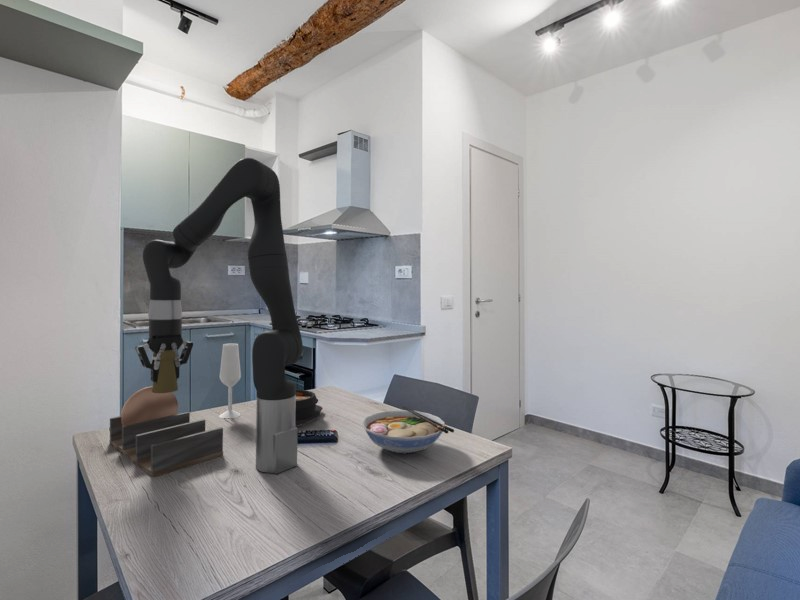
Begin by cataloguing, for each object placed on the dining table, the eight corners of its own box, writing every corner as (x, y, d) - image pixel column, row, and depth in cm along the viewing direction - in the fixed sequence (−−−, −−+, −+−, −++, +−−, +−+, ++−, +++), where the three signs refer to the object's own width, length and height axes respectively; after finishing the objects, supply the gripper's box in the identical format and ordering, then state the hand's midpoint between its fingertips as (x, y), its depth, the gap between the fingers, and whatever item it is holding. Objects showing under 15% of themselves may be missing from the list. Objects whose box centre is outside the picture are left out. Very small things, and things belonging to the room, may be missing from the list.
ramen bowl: (347, 439, 118) (348, 411, 118) (416, 428, 128) (417, 402, 128) (384, 475, 96) (385, 441, 96) (464, 459, 106) (464, 427, 106)
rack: (223, 454, 105) (223, 397, 105) (153, 477, 93) (153, 411, 92) (173, 427, 124) (173, 379, 124) (109, 443, 111) (109, 388, 111)
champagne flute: (240, 411, 142) (241, 342, 141) (240, 417, 135) (241, 345, 135) (219, 413, 139) (219, 343, 138) (218, 419, 133) (219, 346, 132)
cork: (170, 393, 105) (170, 350, 105) (146, 393, 105) (146, 350, 105) (182, 387, 111) (182, 347, 111) (160, 387, 111) (160, 347, 111)
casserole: (289, 406, 149) (290, 383, 148) (335, 413, 143) (335, 389, 142) (242, 428, 125) (242, 401, 125) (294, 437, 119) (294, 408, 119)
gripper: (140, 319, 99) (140, 389, 100) (199, 316, 110) (199, 379, 111) (129, 317, 104) (129, 384, 105) (187, 315, 115) (186, 375, 116)
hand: (165, 381), depth 108 cm, fingers closed on cork, 3 cm apart
